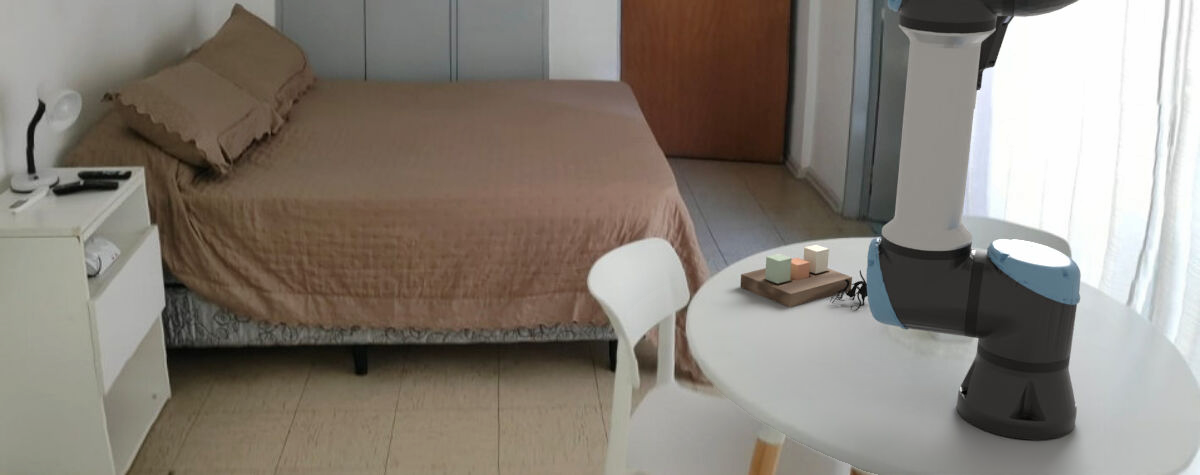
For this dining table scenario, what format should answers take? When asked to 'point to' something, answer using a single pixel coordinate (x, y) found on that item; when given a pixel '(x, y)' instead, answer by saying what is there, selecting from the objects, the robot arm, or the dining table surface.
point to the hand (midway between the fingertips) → (966, 108)
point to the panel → (796, 286)
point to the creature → (852, 292)
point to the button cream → (816, 258)
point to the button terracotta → (799, 269)
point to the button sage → (778, 268)
